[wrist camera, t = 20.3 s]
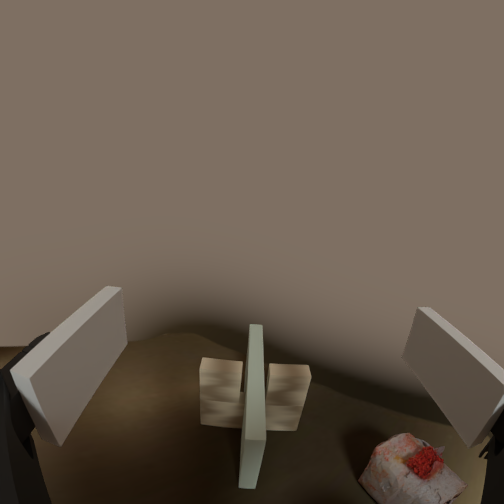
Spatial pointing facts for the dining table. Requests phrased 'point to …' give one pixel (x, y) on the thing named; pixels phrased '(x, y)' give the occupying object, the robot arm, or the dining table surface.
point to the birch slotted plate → (233, 401)
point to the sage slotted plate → (253, 411)
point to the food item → (410, 473)
